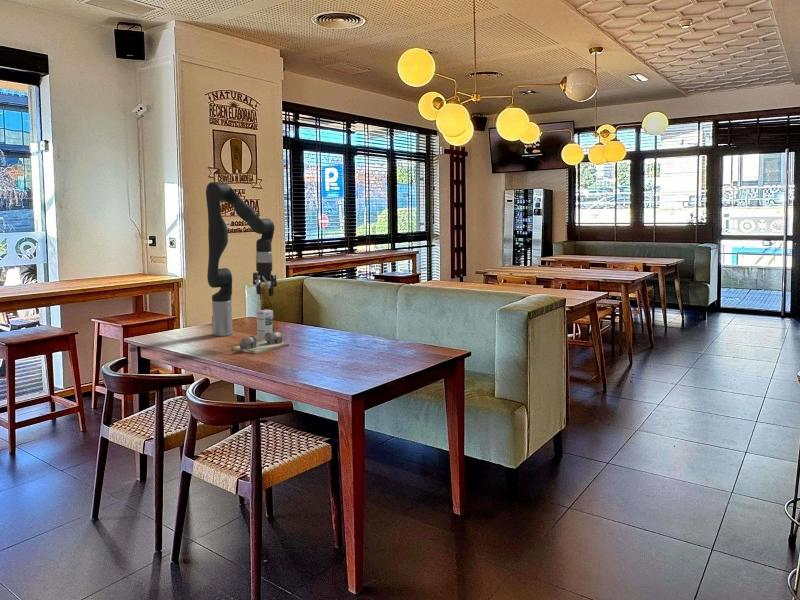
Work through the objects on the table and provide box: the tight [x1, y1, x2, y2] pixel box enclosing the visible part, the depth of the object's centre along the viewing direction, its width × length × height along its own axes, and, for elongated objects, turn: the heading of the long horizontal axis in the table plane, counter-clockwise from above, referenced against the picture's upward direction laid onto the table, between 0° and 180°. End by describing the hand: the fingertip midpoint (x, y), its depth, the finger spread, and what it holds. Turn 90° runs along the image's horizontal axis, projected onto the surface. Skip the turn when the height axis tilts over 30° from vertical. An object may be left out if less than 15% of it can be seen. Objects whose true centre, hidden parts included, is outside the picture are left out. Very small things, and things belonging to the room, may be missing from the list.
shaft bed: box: [231, 331, 290, 355], centre depth 284 cm, size 16×21×6 cm
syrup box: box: [255, 309, 275, 341], centre depth 300 cm, size 6×6×14 cm
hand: (264, 295), depth 298 cm, fingers open, 8 cm apart
